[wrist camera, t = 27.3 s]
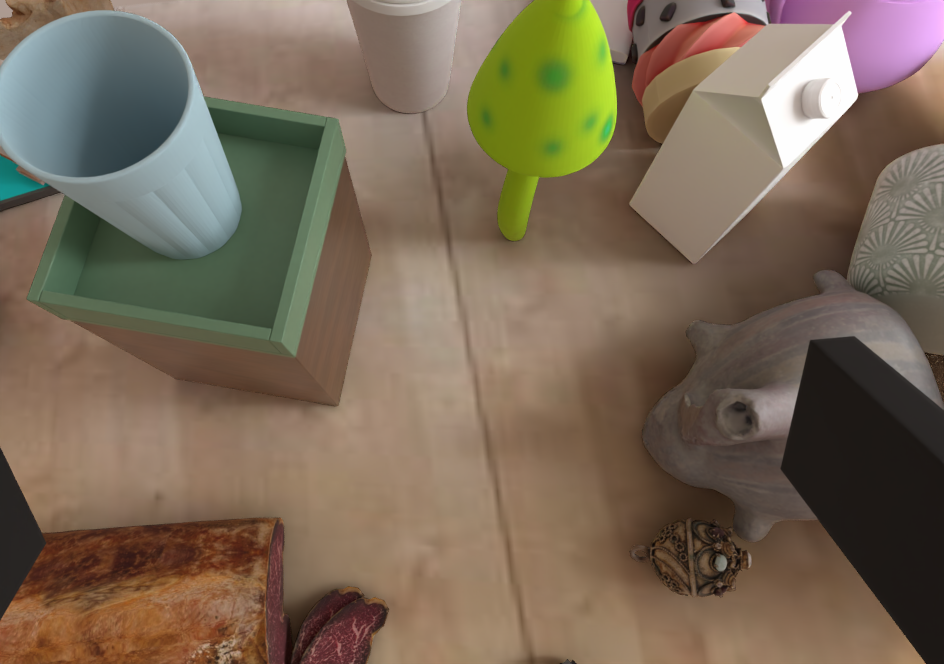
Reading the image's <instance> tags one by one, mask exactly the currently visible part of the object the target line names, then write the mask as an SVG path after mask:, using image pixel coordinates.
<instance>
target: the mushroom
mask: <svg viewBox="0 0 944 664" xmlns="http://www.w3.org/2000/svg"><path fill="white" fill-rule="evenodd" d="M467 114H468V121H469V125H470V128H471V131H472V133H473V135H474V137H475V139H476V141H477V142H478V144H479V145H480V147H481V148H482V149H483V150H484V151H485V152H486V153H487V154H488V155H489V156H490V157H491V158H492V159H493V160H494V161H496V162H497V163H499V164H500V165H502V166H503V167H505V168H507V169H508V171H507V174H506V178H505V181H504V184H503V188H502V191H501V196H500V200H499V205H498V212H497V220H498V225H499V228H500V231H501V232H502V234H503V235H504V236H505V237H506V238H507V239H508V240H511V241H518V240H520V239H522V238H523V237H524V235H525V232H526V227H527V223H528V218H529V214H530V209H531V205H532V201H533V197H534V194H535V190H536V186H537V183H538V179H539V177H542V178H549V177H559V176H564V175H568V174H571V173H574V172H576V171H579V170H581V169H583V168H584V167H586V166H588V165H589V164H591V163H592V162H593V161H594V160H596V159H597V158H598V157H599V156H600V155H601V154H602V152H603V151H604V150H605V149H606V147H607V146H608V144H609V142H610V140H611V138H612V136H613V133H614V129H615V124H616V117H617V99H616V86H615V78H614V70H613V64H612V58H611V54H610V49H609V45H608V41H607V37H606V34H605V31H604V28H603V26H602V23H601V21H600V18H599V16H598V14H597V12H596V10H595V8H594V7H593V5H592V3H591V2H590V0H534V1H533V2H532V3H530V4H529V5H528V6H527V7H526V8H525V9H524V10H523V11H522V12H521V13H520V14H519V15H518V16H517V17H516V18H515V19H514V20H513V22H512V23H511V24H510V25H509V26H508V27H507V29H506V30H505V31H504V33H503V34H502V35H501V37H500V38H499V39H498V41H497V42H496V44H495V45H494V47H493V48H492V50H491V51H490V53H489V54H488V56H487V57H486V59H485V61H484V62H483V64H482V66H481V67H480V69H479V71H478V73H477V75H476V77H475V79H474V81H473V84H472V86H471V89H470V92H469V96H468V102H467Z"/></svg>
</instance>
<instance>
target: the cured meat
mask: <svg viewBox="0 0 944 664" xmlns="http://www.w3.org/2000/svg"><path fill="white" fill-rule="evenodd" d="M42 535H43V537H44V539H45V541H46V545H45V546H44V548H43V550H42V551H41V553H40V555H39V556H38V558H37V560H36V561H35V563H34V565H33V566H32V568H31V570H30V571H29V573H28V575H27V576H26V578H25V580H24V581H23V583H22V585H21V586H20V588H19V590H18V592H17V593H16V595H15V597H14V598H13V600H12V602H11V603H10V605H9V607H8V608H7V610H6V612H5V613H4V615H3V617H2V618H1V620H0V664H367V662H368V658H369V655H370V651H371V646H372V640H373V636H374V635H375V634H376V633H377V632H378V631H379V630H380V628H382V627H383V626H384V624H385V621H386V618H387V614H388V611H389V608H388V607H387V605H386V603H385V601H384V600H381V599H378V598H376V597H374V598H372V599H365V598H364V594H363V593H362V592H361V591H360V589H359V588H356V587H350V586H348V587H347V588H345V589H335V590H333V591H331V592H330V593H328V594H327V595H326V596H324V597H323V598H322V599H321V600H320V601H318V602H317V603H316V604H315V606H314V607H313V608H312V609H311V611H310V612H309V613H308V615H307V617H306V618H305V620H304V621H303V623H302V625H301V628H300V630H299V633H298V636H297V639H296V642H295V645H294V648H293V651H292V640H291V627H290V619H289V616H288V614H284V612H283V549H284V524H283V520H282V519H281V518H247V519H232V520H215V521H200V522H186V523H174V524H161V525H146V526H132V527H118V528H107V529H96V530H77V531H67V532H57V533H42Z"/></svg>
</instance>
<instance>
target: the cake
mask: <svg viewBox="0 0 944 664" xmlns="http://www.w3.org/2000/svg"><path fill="white" fill-rule="evenodd" d="M765 1H766V0H628V4H627V17H628V26H629V30H630V31H631V32H632V33H633V40H634V44H633V45H632V61H633V62H634V63H637V65H636V68H635V70H634V76H633V82H632V88H633V91H634V93H635V96H636V98H637V100H638V102H639V103H640V104H641V106H642V107H643V112H644V119H645V126H646V129H647V132H648V135H649V136H650V137H651V138H653V139H654V140H655V141H657V142H659V143H664V141H665V139H666V137H667V135H668V134H669V132H670V130H671V128H672V127H673V125H674V123H675V121H676V120H677V118H678V116H679V114H680V112H681V111H682V109H683V107H684V105H685V104H686V102H687V100H688V98H689V97H690V95H691V93H692V91H693V90H694V88H695V87H697V86H698V85H699V84H700V83H701V82H702V81H703V80H704V79H706V78H707V77H708V76H709V75H710V74H711V73H712V72H713V71H715V70H716V69H717V68H718V67H719V66H720V65H721V64H723V63H724V62H725V61H726V60H727V59H728V58H729V57H731V56H732V55H733V54H734V53H735V52H736V51H737V50H739V49H740V48H741V47H742V46H743V45H744V44H745V43H747V42H748V41H749V40H750V39H751V38H752V37H753V36H755V35H756V34H757V33H758V32H759V31H760V30H761V29H763V28H764V27H765V26H766V25H768V24H771V19H770V14H769V12H767V9H766V4H765Z"/></svg>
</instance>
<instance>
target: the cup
mask: <svg viewBox="0 0 944 664" xmlns="http://www.w3.org/2000/svg"><path fill="white" fill-rule="evenodd" d="M0 146H1V147H2V149H3V150H4V151H5V153H6V154H7V155H8V156H9V157H10V158H11V159H12V160H13V161H14V162H16V163H17V164H18V165H19V166H21V167H22V168H24V169H25V170H27V171H28V172H30V173H31V174H33V175H35V176H36V177H38V178H39V179H41V180H42V181H44V182H46V183H47V184H49V185H50V186H52V187H53V188H55V189H57V190H58V191H60V192H62V193H63V194H65V195H66V196H68V197H69V198H71V199H72V200H74V201H76V202H77V203H79V204H80V205H82V206H83V207H85V208H87V209H88V210H90V211H91V212H93V213H94V214H96V215H98V216H99V217H101V218H102V219H104V220H105V221H107V222H109V223H110V224H112V225H113V226H115V227H116V228H118V229H119V230H121V231H123V232H124V233H126V234H127V235H129V236H130V237H132V238H134V239H135V240H137V241H138V242H140V243H141V244H143V245H145V246H146V247H148V248H150V249H151V250H153V251H155V252H156V253H159V254H161V255H164V256H167V257H169V258H172V259H180V260H183V259H196V258H200V257H203V256H206V255H208V254H210V253H212V252H214V251H216V250H218V249H219V248H221V247H222V246H223V245H224V244H225V243H226V242H227V241H228V240H229V239H230V238H231V236H232V235H233V234H234V232H235V231H236V229H237V227H238V224H239V220H240V216H241V212H242V205H241V201H240V196H239V192H238V188H237V186H236V183H235V180H234V177H233V175H232V172H231V169H230V167H229V164H228V161H227V159H226V156H225V153H224V151H223V148H222V145H221V142H220V140H219V137H218V134H217V132H216V129H215V126H214V124H213V121H212V118H211V116H210V113H209V110H208V108H207V105H206V102H205V100H204V97H203V94H202V91H201V88H200V85H199V83H198V80H197V77H196V75H195V72H194V69H193V67H192V64H191V61H190V59H189V57H188V55H187V53H186V51H185V50H184V48H183V47H182V45H181V44H180V43H179V42H178V40H177V39H176V38H175V37H174V36H173V35H172V34H171V33H170V32H168V31H167V30H166V29H164V28H163V27H161V26H160V25H158V24H157V23H155V22H153V21H151V20H149V19H146V18H144V17H141V16H138V15H135V14H132V13H126V12H121V11H112V10H97V11H87V12H81V13H76V14H72V15H69V16H65V17H62V18H60V19H57V20H55V21H52V22H50V23H48V24H46V25H44V26H42V27H41V28H39V29H37V30H36V31H34V32H33V33H31V34H30V35H29V36H27V37H26V38H25V39H23V40H22V41H21V42H20V43H19V44H18V45H17V46H16V47H15V48H14V49H13V50H12V51H11V52H10V53H9V55H8V56H7V57H6V59H5V60H4V61H3V63H2V65H1V66H0Z"/></svg>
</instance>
